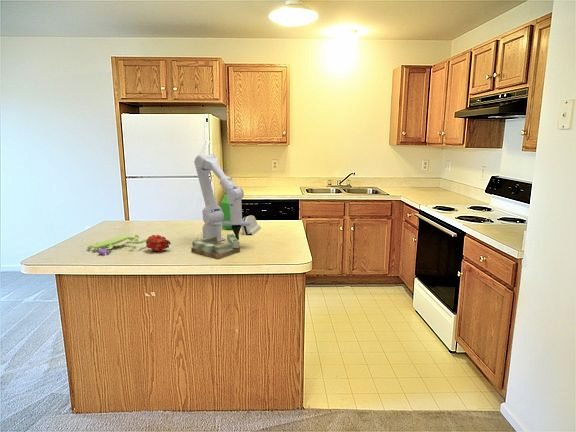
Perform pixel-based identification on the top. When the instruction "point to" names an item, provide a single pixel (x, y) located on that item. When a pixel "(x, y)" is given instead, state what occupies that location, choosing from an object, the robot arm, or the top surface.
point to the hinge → (253, 227)
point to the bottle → (226, 211)
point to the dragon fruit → (157, 243)
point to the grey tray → (213, 248)
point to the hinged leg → (233, 240)
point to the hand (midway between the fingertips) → (237, 240)
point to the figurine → (113, 243)
